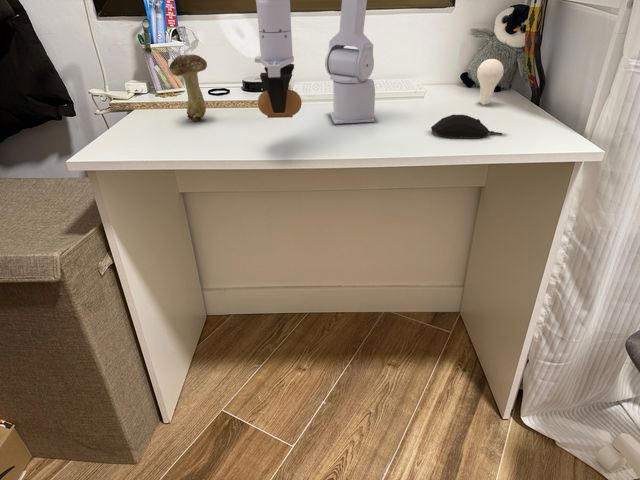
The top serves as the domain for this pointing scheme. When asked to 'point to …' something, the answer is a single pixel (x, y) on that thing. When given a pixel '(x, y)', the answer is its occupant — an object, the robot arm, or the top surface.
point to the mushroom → (191, 82)
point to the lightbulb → (489, 78)
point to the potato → (291, 105)
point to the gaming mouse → (461, 127)
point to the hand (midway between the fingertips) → (280, 108)
